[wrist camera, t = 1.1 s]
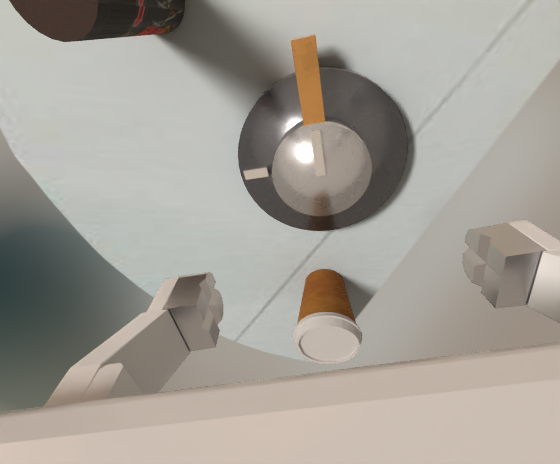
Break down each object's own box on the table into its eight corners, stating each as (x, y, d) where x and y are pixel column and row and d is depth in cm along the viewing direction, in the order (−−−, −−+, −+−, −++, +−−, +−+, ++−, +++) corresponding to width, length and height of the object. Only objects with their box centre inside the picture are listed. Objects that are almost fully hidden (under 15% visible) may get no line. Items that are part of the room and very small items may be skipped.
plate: (406, 47, 30) (412, 49, 28) (401, 213, 41) (405, 222, 39) (220, 87, 34) (215, 91, 32) (261, 230, 45) (259, 239, 43)
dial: (369, 197, 38) (373, 211, 35) (284, 208, 40) (282, 222, 37) (362, 22, 28) (368, 23, 25) (248, 49, 30) (242, 52, 27)
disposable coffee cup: (364, 287, 50) (376, 352, 40) (317, 309, 54) (318, 372, 44) (332, 252, 46) (337, 313, 37) (284, 277, 50) (277, 339, 41)
